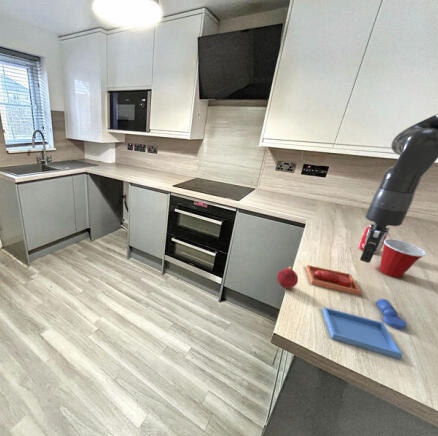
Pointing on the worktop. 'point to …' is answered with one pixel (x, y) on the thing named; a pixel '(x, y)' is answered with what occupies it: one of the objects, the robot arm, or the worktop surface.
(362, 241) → the soda can
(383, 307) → the blue elongated piece
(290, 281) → the red textured round fruit
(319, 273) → the red sausage
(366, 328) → the blue tray
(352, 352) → the worktop surface
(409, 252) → the plastic cup
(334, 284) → the terracotta tray
